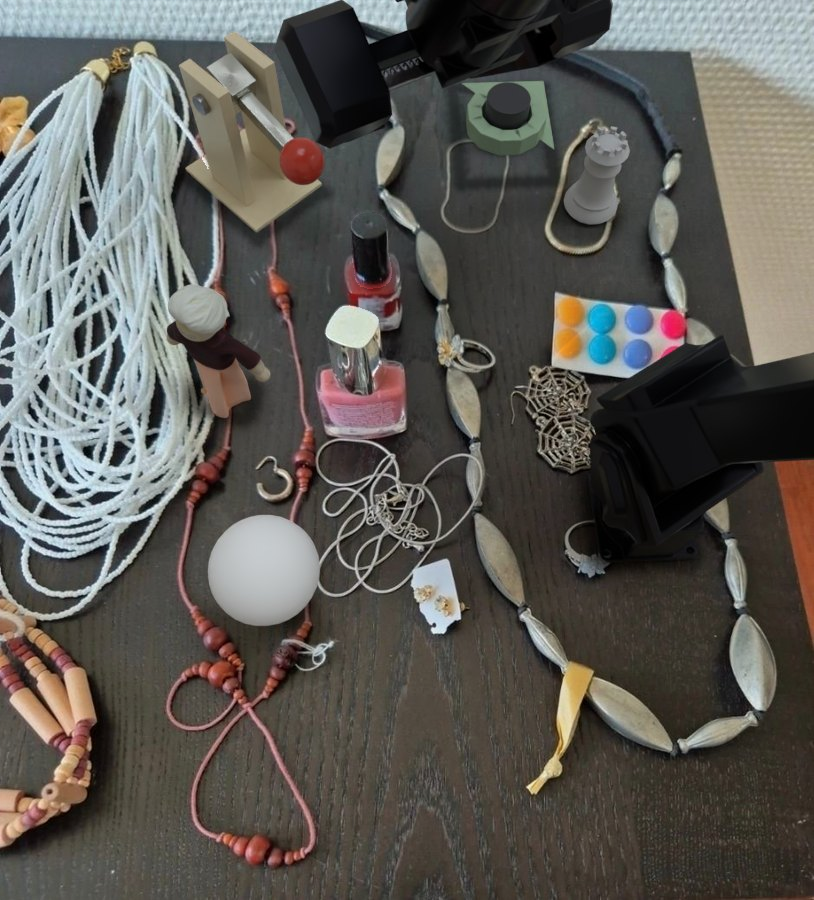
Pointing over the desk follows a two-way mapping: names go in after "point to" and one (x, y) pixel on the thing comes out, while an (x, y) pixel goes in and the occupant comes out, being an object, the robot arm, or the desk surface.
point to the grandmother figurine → (213, 347)
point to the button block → (509, 139)
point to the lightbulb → (263, 570)
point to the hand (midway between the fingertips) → (407, 93)
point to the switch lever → (269, 122)
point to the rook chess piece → (598, 178)
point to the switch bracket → (241, 141)
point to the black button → (507, 106)
